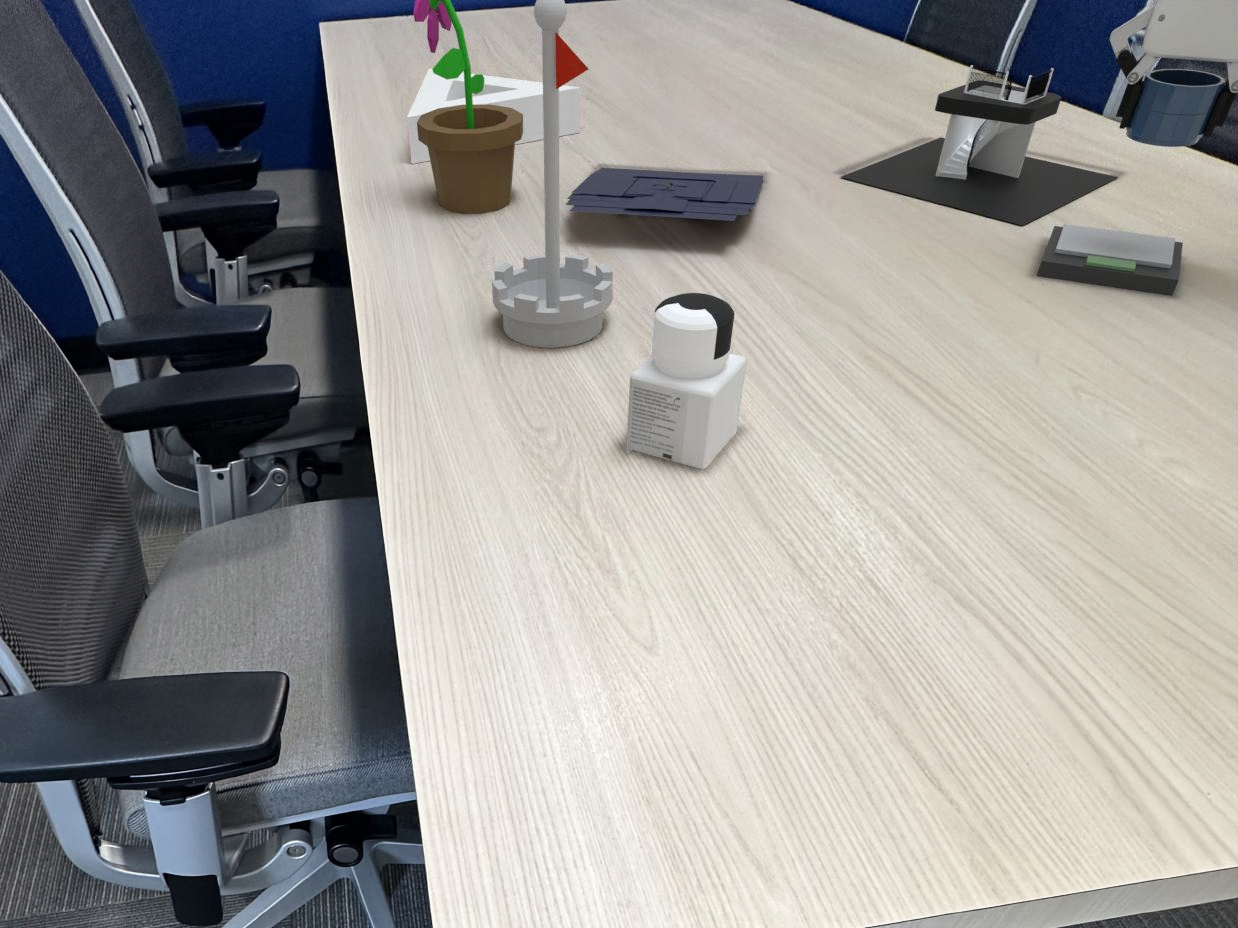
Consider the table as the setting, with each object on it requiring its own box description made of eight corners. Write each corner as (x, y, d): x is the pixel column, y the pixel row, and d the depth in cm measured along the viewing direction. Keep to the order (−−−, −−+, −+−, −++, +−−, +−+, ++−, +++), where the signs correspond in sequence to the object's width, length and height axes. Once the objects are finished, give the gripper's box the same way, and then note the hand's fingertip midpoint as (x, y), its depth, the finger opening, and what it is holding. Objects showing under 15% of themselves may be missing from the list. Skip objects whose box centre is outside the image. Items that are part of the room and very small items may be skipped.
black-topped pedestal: (839, 177, 138) (860, 69, 129) (940, 138, 150) (965, 35, 140) (1022, 226, 123) (1060, 107, 114) (1118, 178, 135) (1160, 66, 125)
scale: (1173, 263, 114) (1185, 237, 112) (1169, 302, 106) (1181, 275, 104) (1047, 246, 118) (1056, 221, 116) (1034, 281, 111) (1043, 256, 109)
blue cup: (1200, 131, 103) (1225, 72, 99) (1198, 150, 98) (1224, 89, 94) (1126, 124, 105) (1148, 66, 101) (1121, 142, 101) (1144, 82, 97)
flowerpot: (448, 181, 142) (427, -80, 120) (539, 189, 138) (535, -79, 117) (407, 213, 132) (378, -63, 111) (504, 223, 129) (493, -61, 107)
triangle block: (432, 110, 169) (429, 68, 164) (580, 107, 168) (580, 64, 163) (411, 164, 148) (406, 117, 143) (580, 161, 147) (580, 113, 142)
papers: (553, 234, 122) (554, 202, 120) (598, 187, 145) (600, 160, 142) (746, 246, 117) (751, 213, 115) (762, 196, 140) (766, 168, 138)
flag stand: (470, 324, 107) (446, -7, 86) (558, 291, 113) (556, -27, 91) (546, 363, 100) (541, 12, 78) (636, 326, 105) (654, -11, 84)
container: (661, 416, 91) (672, 277, 82) (737, 436, 89) (757, 294, 79) (624, 454, 87) (631, 311, 78) (703, 476, 84) (720, 330, 75)
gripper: (1358, -91, 88) (1258, 128, 100) (1148, -96, 94) (1078, 112, 106) (1365, -79, 83) (1259, 148, 96) (1144, -86, 89) (1071, 130, 102)
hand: (1165, 128), depth 101 cm, fingers closed on blue cup, 7 cm apart
